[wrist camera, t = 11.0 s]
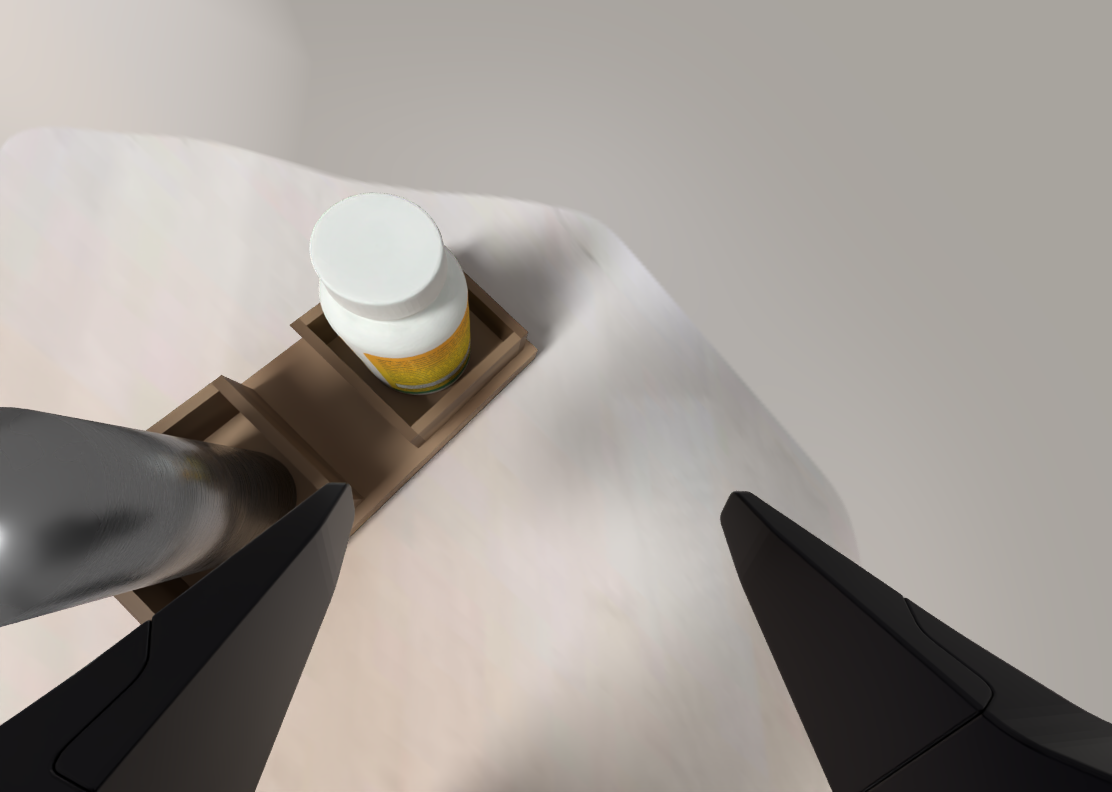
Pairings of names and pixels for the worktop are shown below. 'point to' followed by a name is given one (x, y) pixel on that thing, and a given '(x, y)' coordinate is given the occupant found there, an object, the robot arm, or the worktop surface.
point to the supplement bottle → (393, 291)
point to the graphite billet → (120, 509)
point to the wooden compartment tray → (341, 417)
